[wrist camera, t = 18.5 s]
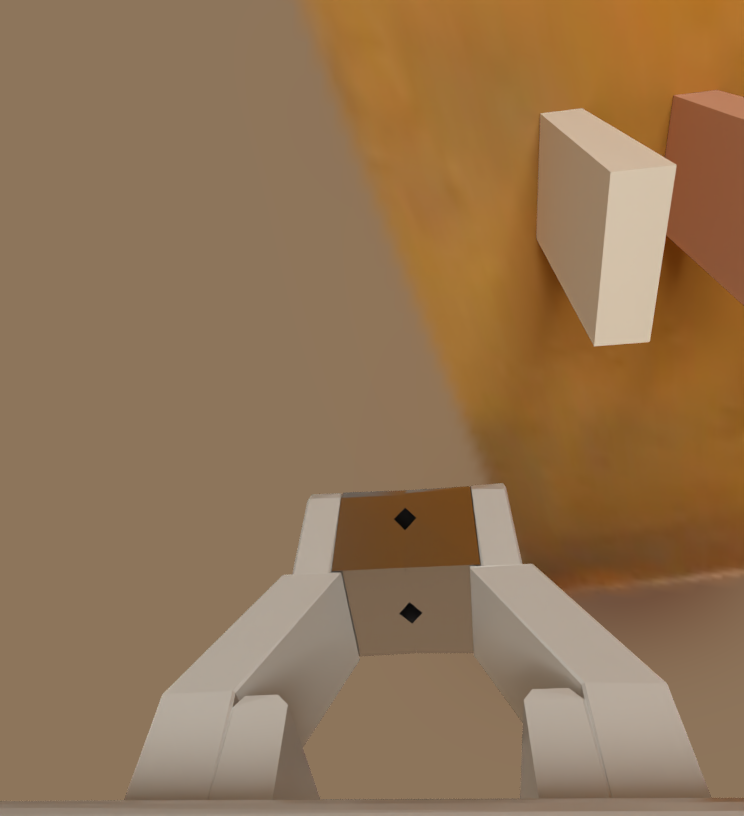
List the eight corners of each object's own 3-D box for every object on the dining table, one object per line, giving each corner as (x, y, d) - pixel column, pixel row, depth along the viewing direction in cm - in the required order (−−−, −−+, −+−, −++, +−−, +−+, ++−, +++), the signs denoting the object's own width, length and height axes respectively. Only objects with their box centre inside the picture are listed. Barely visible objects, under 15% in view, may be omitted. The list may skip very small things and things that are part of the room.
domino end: (582, 108, 23) (676, 164, 15) (573, 235, 26) (649, 341, 18) (540, 113, 23) (610, 171, 15) (536, 238, 26) (593, 346, 18)
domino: (717, 89, 23) (894, 138, 14) (694, 221, 25) (831, 326, 17) (673, 95, 23) (823, 146, 15) (655, 225, 26) (771, 330, 17)
